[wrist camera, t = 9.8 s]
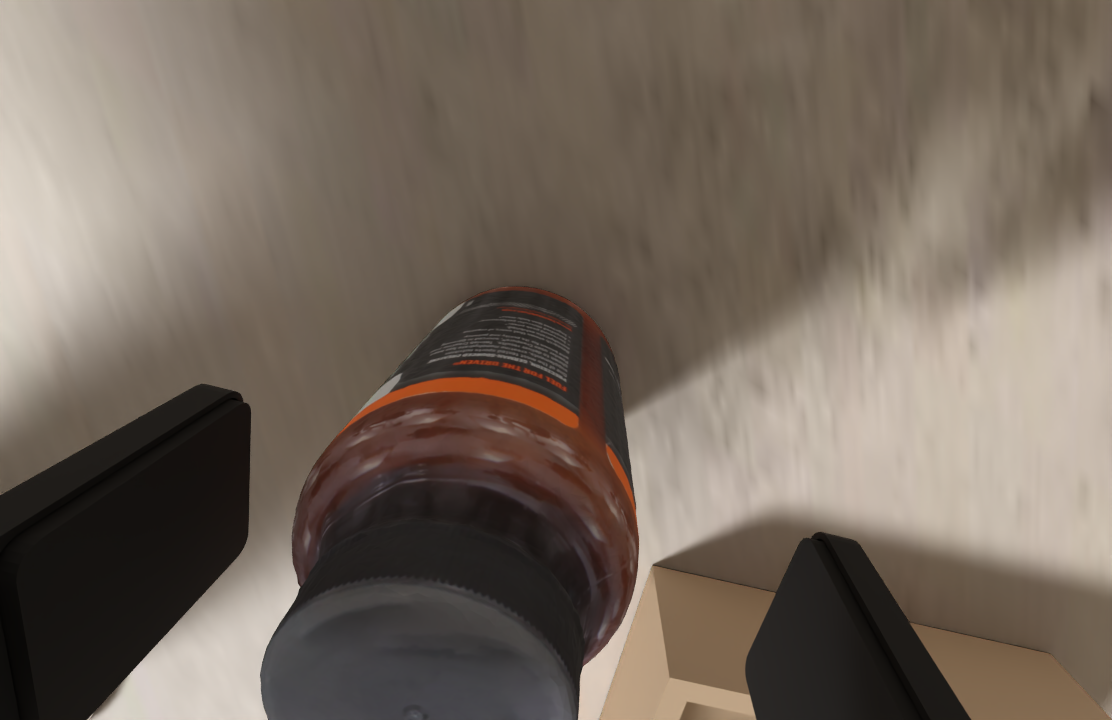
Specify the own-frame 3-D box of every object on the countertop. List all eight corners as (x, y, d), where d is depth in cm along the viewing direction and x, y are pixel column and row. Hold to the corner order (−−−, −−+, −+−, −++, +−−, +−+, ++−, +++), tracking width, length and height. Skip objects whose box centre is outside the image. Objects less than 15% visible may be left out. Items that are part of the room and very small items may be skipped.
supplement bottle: (397, 314, 17) (69, 570, 6) (585, 254, 16) (575, 438, 5) (467, 480, 19) (304, 897, 8) (640, 435, 18) (713, 840, 7)
